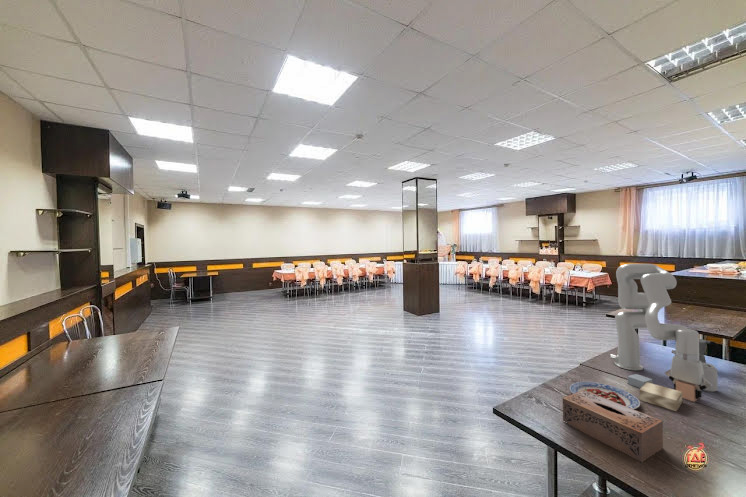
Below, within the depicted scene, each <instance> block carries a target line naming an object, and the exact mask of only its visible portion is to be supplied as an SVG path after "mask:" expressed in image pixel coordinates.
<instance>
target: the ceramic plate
mask: <svg viewBox="0 0 746 497" xmlns="http://www.w3.org/2000/svg"><path fill="white" fill-rule="evenodd" d="M569 390H570V392H571V394H574V393H577V392H579V391H582V390H586V391H588V392H591V393H593V394H596V395H598V396H601V397H603V398H606V399H608V400H611V401H613V402H616V403H618V404H621V405H624V406H626V407H629V408H631V409H634V410H636V409H638V408H640V406H641V400H640V399H638V398H637V396H635V395H634V394H632V393H630V392H628V391H627V390H624V389H622V388H619V387H616V386H614V385H609V384H607V383H606V384H605V383H601V382H595V381H578V382H574V383H572V384H571V385H570V386H569Z"/></svg>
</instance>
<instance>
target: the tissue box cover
mask: <svg viewBox="0 0 746 497" xmlns="http://www.w3.org/2000/svg"><path fill="white" fill-rule="evenodd" d="M563 421H565V422H567V423H568V424H570V425H572V426H573V427H572V426H571V427H572V428H574V427H575V428H574V429H576V428H577V429H576V430H578V429H579V430H578V431H580V432H582V433H584V434H586V435H587V436H590V437H591V438H593V439H595V440H597V441H599V440H600V441H599V442H601V443H603V444H605V445H607V446H609V447H611V448H614V450H615V449H616V450H617V449H618V450H617V451H619V450H620V451H619V452H621V451H622V452H621V453H623V452H624V453H626V454H628V455H630V456H632V457H634V458H635V459H634V458H633V459H634V460H636V459H637V460H636V461H638V460H639V461H638V462H640V461H641V462H640V463H644V462H645V461H646V459H647V458H648V459H650V458H651V457H652V455H653V454H654V455H656V454H657V453H659V452H660V451H661V450H663V449H664V444H663V443H664V440H663V439H664V435H663V433H664V431H663V430H664V428H663V420H662V419H659V418H656V417H653V416H651V415H648V414H646V413H643V412H641V411H638V410H636V409H631V408H629V407H626V406H624V405H621V404H618V403H616V402H613V401H611V400H608V399H606V398H603V397H601V396H598V395H596V394H593V393H591V392H588V391H586V390H582V391H579V392H577V393H574V394H573V393H571V394H570V395H567V396H565V397H562V422H563ZM568 424H567V425H568ZM570 425H569V426H570ZM656 452H657V453H656ZM624 453H623V454H624ZM655 453H656V454H655ZM626 454H625V455H626ZM628 455H627V456H628ZM654 455H653V456H654ZM630 456H629V457H630ZM650 456H651V457H650ZM632 457H631V458H632ZM649 457H650V458H649ZM648 459H647V460H648ZM644 460H645V461H644ZM643 461H644V462H643Z"/></svg>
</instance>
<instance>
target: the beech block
mask: <svg viewBox="0 0 746 497" xmlns="http://www.w3.org/2000/svg"><path fill="white" fill-rule="evenodd" d="M638 392H639V399H638V400H639V401H642V402H646V403H648V404H651V405H654V406H659V407H661V408H663V409H664V408H665V409H668V410H670V411H675V412H678V410H679V408H680V406H681V405H682V404H683V398H682V392H681V391H677V390H675V389H674V388H670V387H665V386H662V385H660V384H659V385H658V384H654V383H653V384H652V383H648V382H647V383H646V384H645V385H644V386H643V387H642V388H639V389H638Z"/></svg>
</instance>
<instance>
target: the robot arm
mask: <svg viewBox="0 0 746 497" xmlns="http://www.w3.org/2000/svg"><path fill="white" fill-rule="evenodd" d="M615 277H616V281H617V287H618V288H617V295H618V297H617V302H618V306H619V307H620V308H621V309H622V310H623V309H624V310H627V311H620V312H618V313H616V314H615V316H614V322H615V325H616V332H617V333H616V334H617V355H615V354H610V356H609V357H610V359H611V360H615V361H614V365H615V366H616V367H618V368H621V369H624V370H629V371H635V372H637V371H643V370H644V366H643V365H642V364H640V336H639V335H638V332H636V330H635V329H647V330H648V332H649V335H650V336H651V337H652V338H654V339H655V340H657V341H675V350H673V349H672V350H671V353H672V354H674V356H672V360H671V364H670V365H671V366H670V369H669V370H667V371H665V372H664V374H665V375H666V376H667V377H668V378H669V380H671V381H672V383H673V389H674V390H676V381H677V380H682V381H685V382H689V383H692V384H695V386H696V390H695V398H696V399H698V400H699V399H700V398H702V392H703V391H704V390H703V389H705V388H708V387H711V386H712V384H711V383H710V382H709V381H708V380H707V379H706V378H705V377H704V371H703V366H702V363H701V361H699V339H700V333H699V332H698V330H695V329H692V328H687V327H686V326H684V325H682V324H677V323H660V320H659V318H658V315H659V312H660V310H662V309H663V308H665V307H667V306H670V305H671V304H672V300H671V298H670V295H669V293H668V290H672V289H675V288H676V286H677V284H678V283H677V279H676V277H675V276H674V275H673V274H672V273H671V272H669V271H667V270H665V269H664V268H662V267H661V266H658V265H657V264H653V263H626V264H622V265H620V266H618V267H617V269H616V272H615ZM635 280H640V284H641V287H642V289H643V292H638V284H637V282H636V281H635ZM629 310H631V311H629ZM632 310H633V311H632ZM634 310H637V311H634ZM703 382H704V383H705V384H706V385H703V386H702V385H701V383H703Z"/></svg>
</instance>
